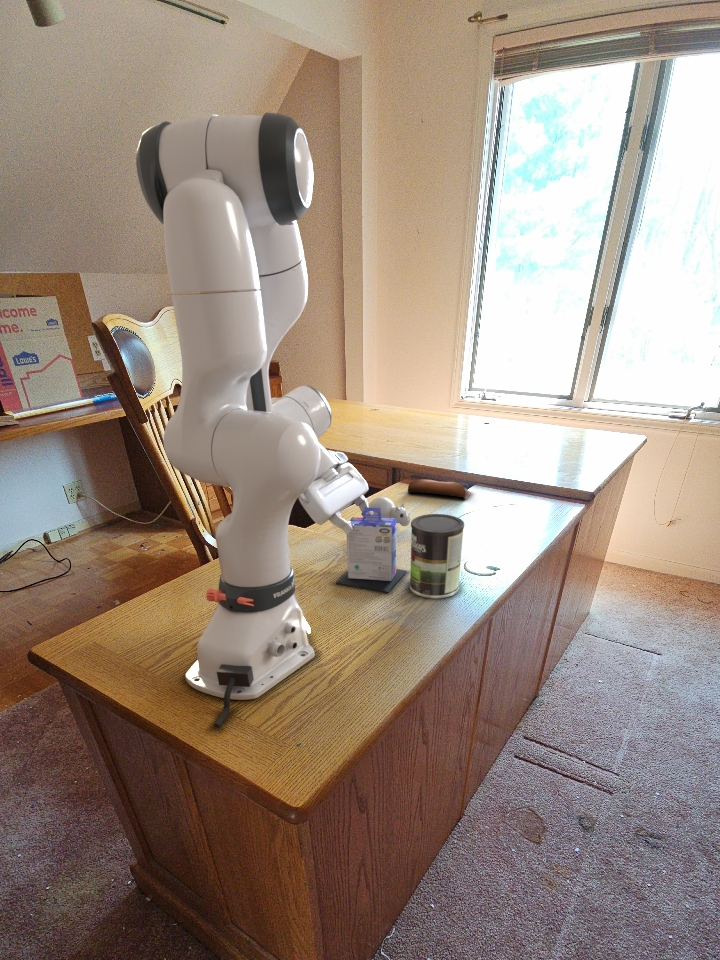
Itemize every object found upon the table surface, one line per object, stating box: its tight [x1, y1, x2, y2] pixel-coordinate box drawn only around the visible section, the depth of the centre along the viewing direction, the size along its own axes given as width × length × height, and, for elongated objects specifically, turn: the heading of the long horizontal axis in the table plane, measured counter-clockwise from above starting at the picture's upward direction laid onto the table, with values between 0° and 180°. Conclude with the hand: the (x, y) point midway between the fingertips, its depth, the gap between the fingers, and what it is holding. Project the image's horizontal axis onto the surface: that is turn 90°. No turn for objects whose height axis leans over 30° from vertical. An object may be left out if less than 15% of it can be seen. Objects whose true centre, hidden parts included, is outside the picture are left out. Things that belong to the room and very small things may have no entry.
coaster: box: [335, 568, 408, 594], centre depth 121 cm, size 11×12×1 cm
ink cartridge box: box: [346, 507, 397, 581], centre depth 117 cm, size 10×6×14 cm, turn 78°
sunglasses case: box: [407, 478, 472, 500], centre depth 170 cm, size 18×7×7 cm, turn 64°
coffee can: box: [409, 513, 465, 600], centre depth 112 cm, size 10×10×14 cm
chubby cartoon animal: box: [368, 496, 411, 527], centre depth 142 cm, size 7×12×8 cm, turn 56°
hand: (361, 523), depth 116 cm, fingers open, 8 cm apart
